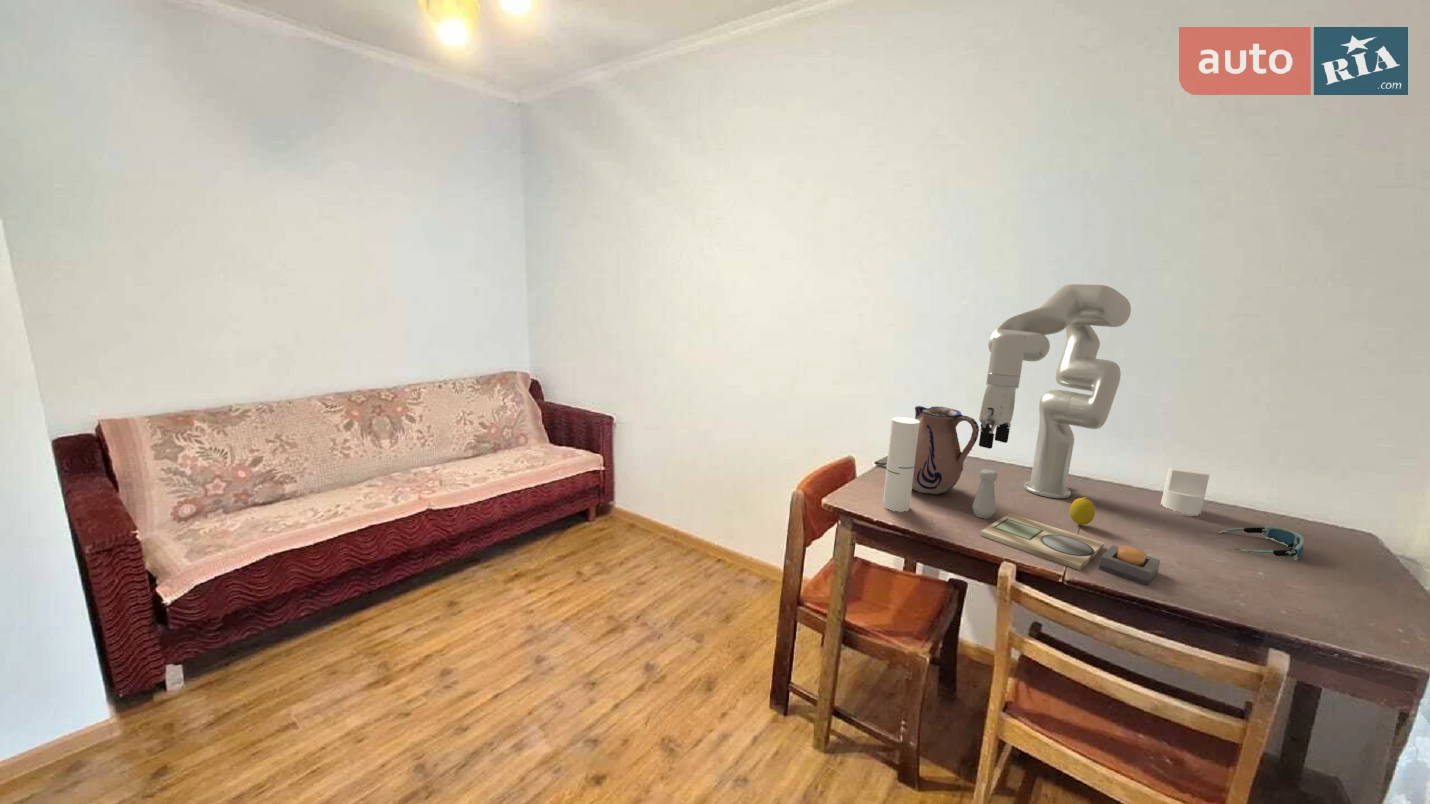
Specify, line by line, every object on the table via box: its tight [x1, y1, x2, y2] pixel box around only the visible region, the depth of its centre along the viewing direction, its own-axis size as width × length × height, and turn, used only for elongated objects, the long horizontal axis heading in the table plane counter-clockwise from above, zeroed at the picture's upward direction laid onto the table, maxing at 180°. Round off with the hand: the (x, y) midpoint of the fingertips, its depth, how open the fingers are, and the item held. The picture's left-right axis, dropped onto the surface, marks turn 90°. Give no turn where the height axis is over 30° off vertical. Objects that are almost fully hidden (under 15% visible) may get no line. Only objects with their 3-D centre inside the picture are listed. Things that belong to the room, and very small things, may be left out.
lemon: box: [1069, 497, 1096, 527], centre depth 148 cm, size 6×6×8 cm
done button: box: [1117, 545, 1147, 567], centre depth 125 cm, size 5×5×2 cm
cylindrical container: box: [882, 416, 920, 513], centre depth 154 cm, size 7×7×25 cm
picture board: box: [979, 512, 1105, 571], centre depth 139 cm, size 18×22×1 cm
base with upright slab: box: [1160, 467, 1210, 514], centre depth 161 cm, size 9×9×12 cm
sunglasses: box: [1223, 525, 1305, 560], centre depth 141 cm, size 14×15×5 cm
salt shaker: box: [971, 468, 999, 520], centre depth 152 cm, size 6×6×13 cm
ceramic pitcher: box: [912, 405, 980, 495], centre depth 168 cm, size 18×21×25 cm
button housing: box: [1098, 544, 1161, 586], centre depth 125 cm, size 9×9×3 cm
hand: (993, 444), depth 149 cm, fingers open, 9 cm apart
